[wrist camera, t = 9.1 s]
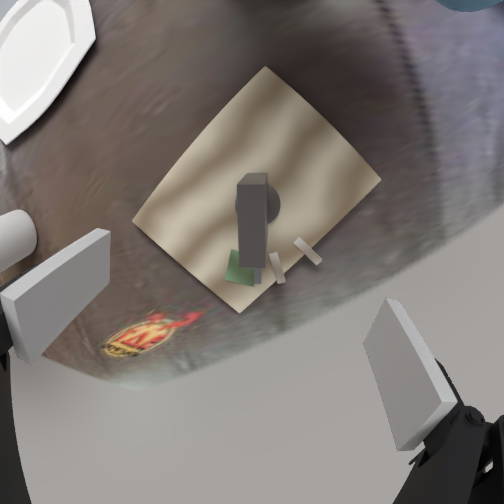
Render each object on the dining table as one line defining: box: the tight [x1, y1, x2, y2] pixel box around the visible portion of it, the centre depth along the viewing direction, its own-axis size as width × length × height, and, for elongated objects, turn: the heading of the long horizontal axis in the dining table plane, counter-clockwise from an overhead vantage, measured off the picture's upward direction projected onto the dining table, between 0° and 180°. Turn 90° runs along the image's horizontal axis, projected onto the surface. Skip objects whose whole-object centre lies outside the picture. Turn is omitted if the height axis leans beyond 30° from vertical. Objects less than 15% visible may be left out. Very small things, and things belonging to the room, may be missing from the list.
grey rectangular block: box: [237, 173, 270, 284], centre depth 29 cm, size 3×12×9 cm, turn 1°
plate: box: [0, 0, 96, 145], centre depth 27 cm, size 27×27×2 cm
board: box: [132, 66, 381, 313], centre depth 34 cm, size 20×24×2 cm
